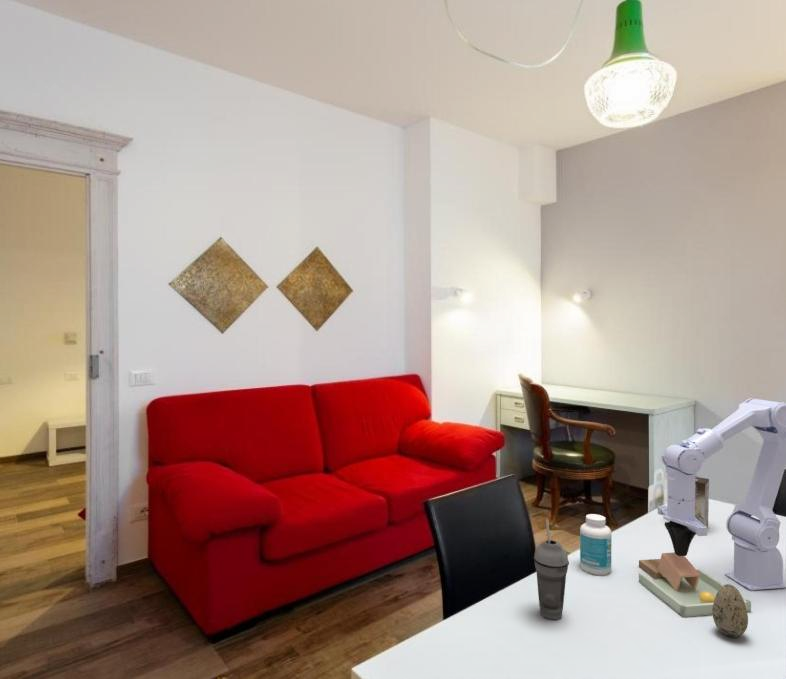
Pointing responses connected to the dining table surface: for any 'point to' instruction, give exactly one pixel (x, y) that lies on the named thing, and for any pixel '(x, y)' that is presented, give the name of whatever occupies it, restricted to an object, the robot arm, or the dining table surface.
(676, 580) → the brown u-shaped block
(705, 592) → the ball
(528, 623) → the dining table surface
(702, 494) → the coffee box
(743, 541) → the robot arm
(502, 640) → the dining table surface
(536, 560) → the beverage cup
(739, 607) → the decorative egg
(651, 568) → the coaster
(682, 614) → the tray
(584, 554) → the pill bottle
